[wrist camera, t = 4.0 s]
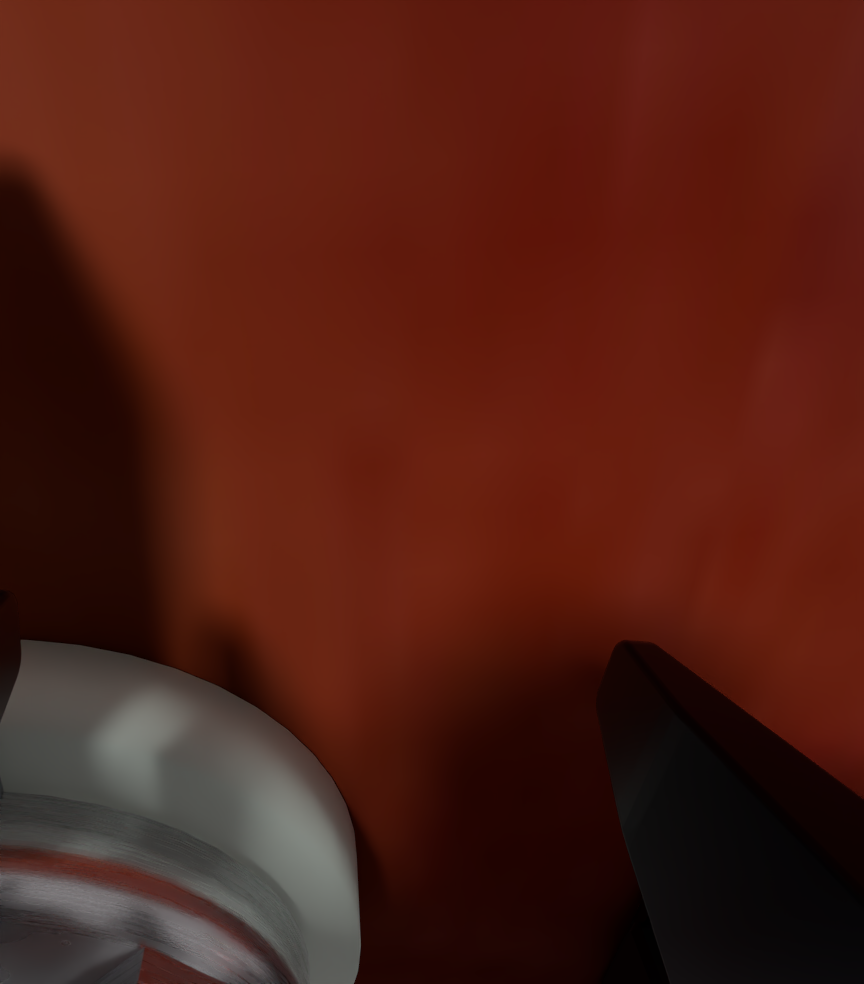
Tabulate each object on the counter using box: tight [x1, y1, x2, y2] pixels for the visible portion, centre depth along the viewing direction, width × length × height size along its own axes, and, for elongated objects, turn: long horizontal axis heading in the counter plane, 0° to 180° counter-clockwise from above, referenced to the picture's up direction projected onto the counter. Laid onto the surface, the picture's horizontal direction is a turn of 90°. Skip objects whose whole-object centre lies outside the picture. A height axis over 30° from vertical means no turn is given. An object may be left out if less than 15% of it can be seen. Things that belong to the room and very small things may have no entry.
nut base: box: [0, 640, 361, 984], centre depth 15 cm, size 13×13×2 cm
